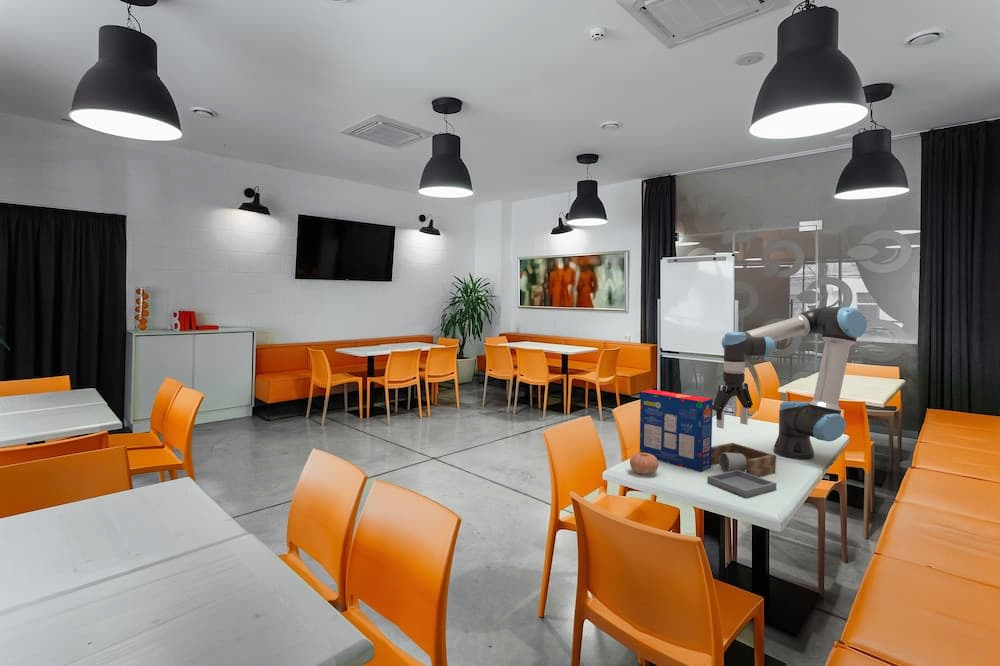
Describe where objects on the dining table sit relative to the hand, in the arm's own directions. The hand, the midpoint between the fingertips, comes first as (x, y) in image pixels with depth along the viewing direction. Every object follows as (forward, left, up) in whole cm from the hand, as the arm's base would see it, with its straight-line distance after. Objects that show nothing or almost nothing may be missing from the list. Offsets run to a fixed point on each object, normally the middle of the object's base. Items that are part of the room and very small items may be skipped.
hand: (732, 425), depth 199 cm
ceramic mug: (0, 0, -18) cm, 18 cm away
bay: (-6, 0, -18) cm, 19 cm away
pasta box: (+11, -19, -18) cm, 29 cm away
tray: (+11, +13, -18) cm, 25 cm away
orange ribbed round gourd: (+32, -14, -18) cm, 39 cm away
